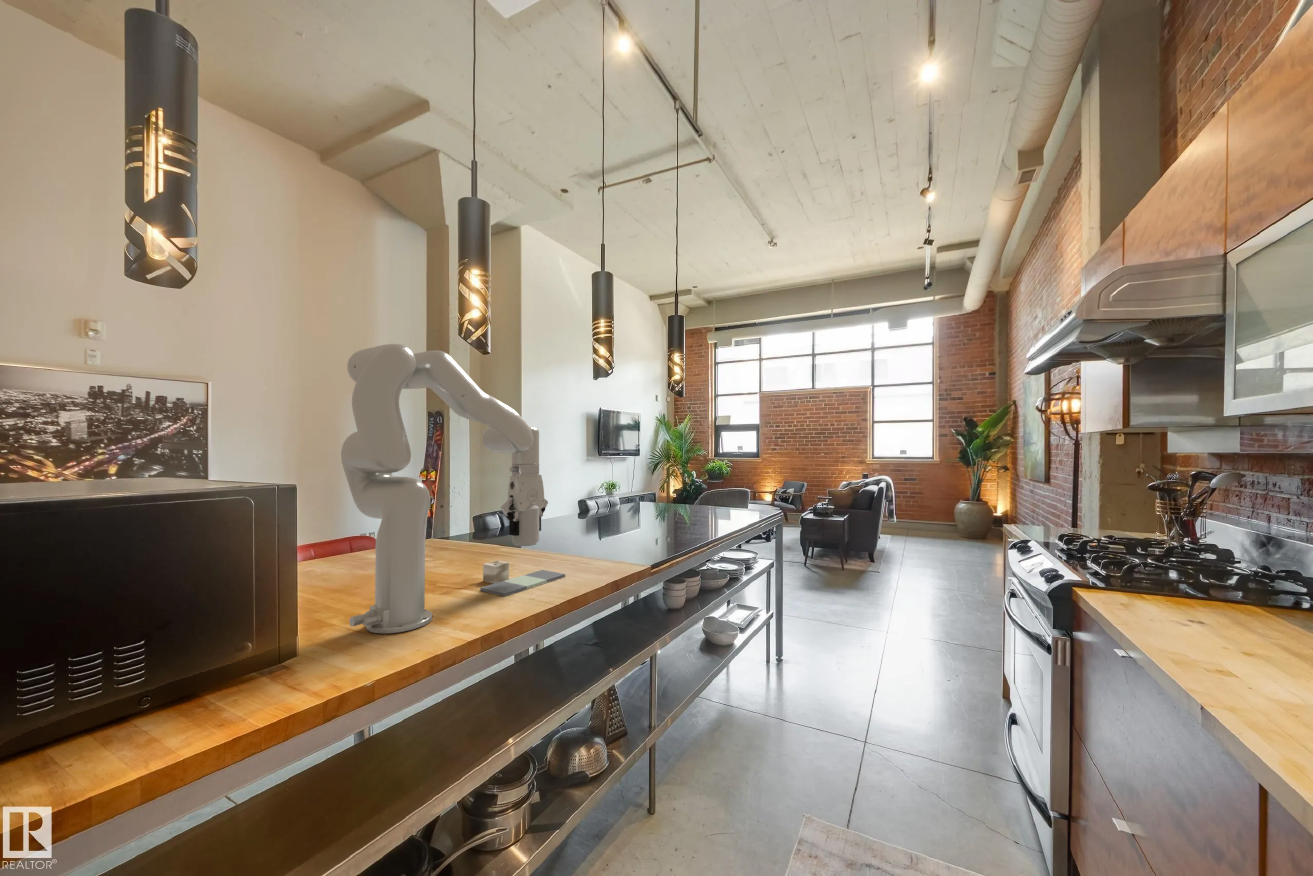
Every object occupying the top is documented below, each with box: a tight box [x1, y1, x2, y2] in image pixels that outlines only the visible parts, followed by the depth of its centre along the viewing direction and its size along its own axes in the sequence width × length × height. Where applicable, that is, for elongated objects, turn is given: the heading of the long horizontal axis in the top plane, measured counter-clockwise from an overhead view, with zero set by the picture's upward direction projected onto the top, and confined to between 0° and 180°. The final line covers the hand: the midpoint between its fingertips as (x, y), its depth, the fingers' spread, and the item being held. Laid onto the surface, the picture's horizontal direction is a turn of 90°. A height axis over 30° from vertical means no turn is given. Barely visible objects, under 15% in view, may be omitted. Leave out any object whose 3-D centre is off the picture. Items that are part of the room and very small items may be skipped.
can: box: [511, 503, 540, 547], centre depth 136 cm, size 8×8×12 cm
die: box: [482, 560, 510, 584], centre depth 138 cm, size 5×5×5 cm
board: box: [479, 569, 566, 597], centre depth 135 cm, size 22×10×1 cm, turn 148°
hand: (525, 532), depth 136 cm, fingers closed on can, 7 cm apart
